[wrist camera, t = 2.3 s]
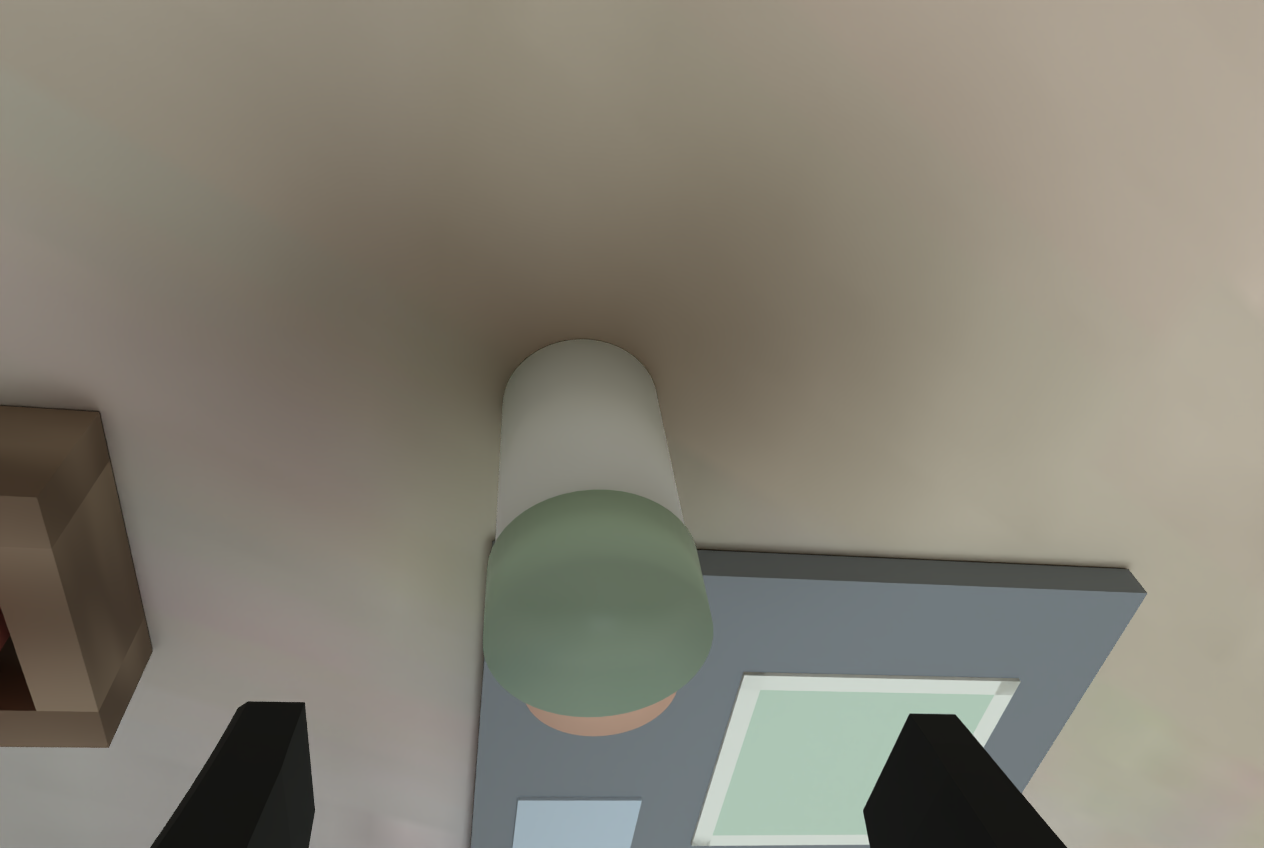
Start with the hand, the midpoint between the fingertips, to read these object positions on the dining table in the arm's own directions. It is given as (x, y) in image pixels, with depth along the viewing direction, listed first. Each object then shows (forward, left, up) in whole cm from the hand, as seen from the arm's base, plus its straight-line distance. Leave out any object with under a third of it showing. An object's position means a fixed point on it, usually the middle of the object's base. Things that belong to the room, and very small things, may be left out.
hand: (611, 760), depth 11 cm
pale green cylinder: (0, 0, -8) cm, 8 cm away
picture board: (-10, -6, -8) cm, 14 cm away
